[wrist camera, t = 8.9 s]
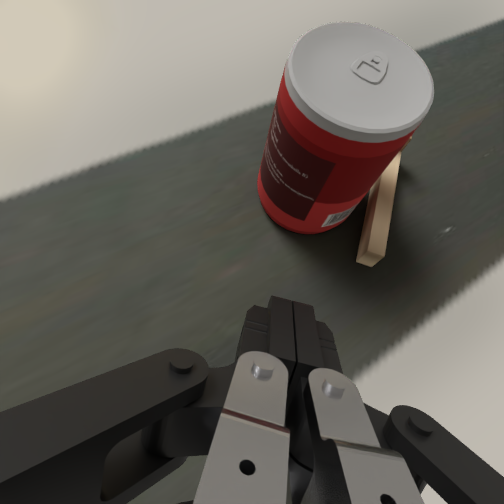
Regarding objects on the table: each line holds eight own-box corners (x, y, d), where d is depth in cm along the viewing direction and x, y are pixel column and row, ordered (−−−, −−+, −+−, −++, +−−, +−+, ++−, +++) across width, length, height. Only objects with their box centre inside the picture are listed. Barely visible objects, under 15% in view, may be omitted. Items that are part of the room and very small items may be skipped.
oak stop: (371, 267, 26) (395, 247, 23) (280, 236, 26) (291, 211, 23) (391, 156, 30) (413, 127, 27) (313, 130, 30) (326, 98, 27)
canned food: (361, 171, 29) (444, 49, 19) (339, 253, 26) (425, 157, 16) (274, 138, 30) (311, 1, 20) (240, 216, 26) (265, 98, 16)
